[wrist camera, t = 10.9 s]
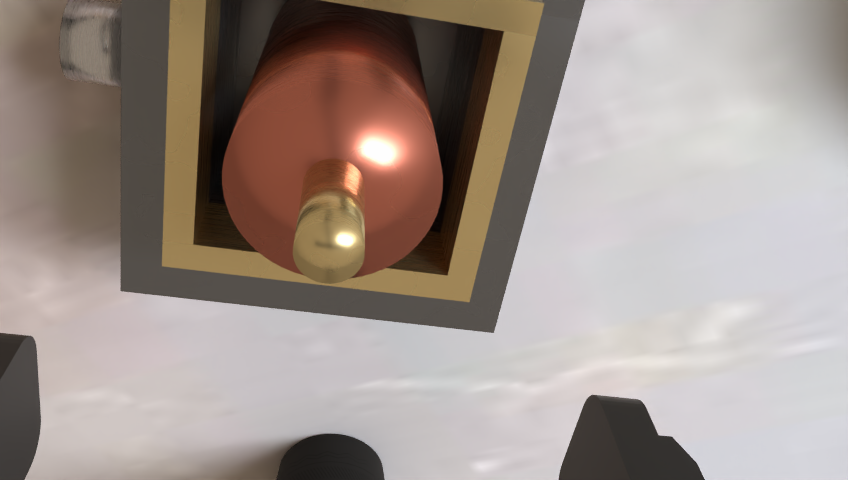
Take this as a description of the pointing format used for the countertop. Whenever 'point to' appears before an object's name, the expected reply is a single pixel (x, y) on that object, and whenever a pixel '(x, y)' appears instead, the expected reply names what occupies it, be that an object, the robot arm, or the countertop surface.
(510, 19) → the grey drawer box
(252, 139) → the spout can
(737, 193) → the countertop surface
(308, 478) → the drinking cup
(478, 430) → the countertop surface
